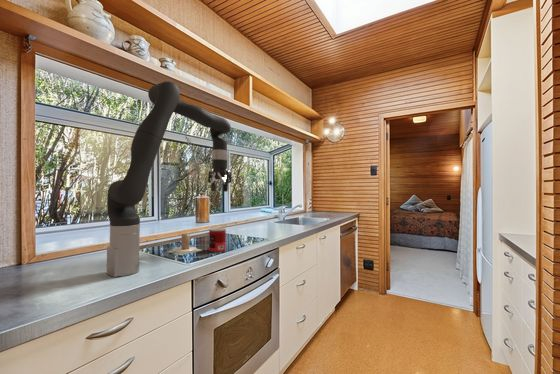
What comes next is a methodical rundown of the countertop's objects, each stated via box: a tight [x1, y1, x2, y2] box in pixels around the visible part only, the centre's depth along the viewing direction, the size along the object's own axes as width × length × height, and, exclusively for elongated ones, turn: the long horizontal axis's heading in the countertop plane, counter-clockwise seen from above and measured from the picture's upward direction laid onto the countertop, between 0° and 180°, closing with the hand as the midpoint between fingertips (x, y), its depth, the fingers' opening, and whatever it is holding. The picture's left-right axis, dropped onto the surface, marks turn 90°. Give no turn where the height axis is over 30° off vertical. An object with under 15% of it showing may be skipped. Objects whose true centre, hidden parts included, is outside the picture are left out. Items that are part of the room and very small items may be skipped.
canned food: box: [208, 227, 227, 253], centre depth 124 cm, size 8×8×11 cm
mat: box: [168, 248, 202, 256], centre depth 122 cm, size 12×10×1 cm
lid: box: [173, 232, 197, 254], centre depth 122 cm, size 10×10×8 cm
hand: (219, 191), depth 129 cm, fingers open, 8 cm apart
